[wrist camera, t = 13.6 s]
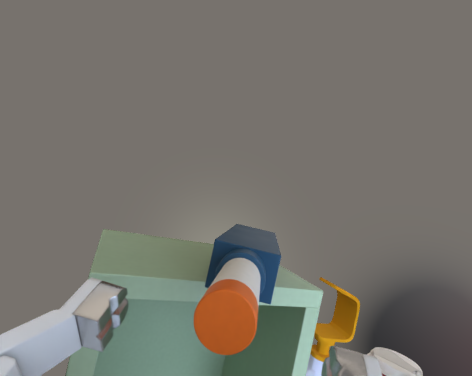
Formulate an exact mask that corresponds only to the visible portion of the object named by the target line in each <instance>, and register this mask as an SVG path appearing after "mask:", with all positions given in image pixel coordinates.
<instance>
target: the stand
mask: <svg viewBox="0 0 472 376" xmlns="http://www.w3.org/2000/svg"><path fill="white" fill-rule="evenodd" d="M213 247H214V244H208V243H201V242H193V241H186V240H179V239H172V238H164V237H157V236H150V235H142V234H136V233H128V232H121V231H114V230H107V229H103V231H102V234H101V238H100V241H99V244H98V247H97V251H96V254H95V257H94V260H93V264H92V267H91V270H90V274H89V278H88V279H90V278H91V277H92V278H95V279H99V280H102V281H105V282H109V283H112V284H115V285H119V286H122V287H125V288H127V292H128V294H127V296H126V297H125V298H126V299H127V300H128V305H129V306H128V311H127V314H126V316H125V319H124V320H123V322H122V323H121V325H120V326H118V327H117V328H115V329H113V337H112V339H111V340H110V342H109V343H108V345H107V346H106V348H105V349H104V351H103V352H101V351H97V350H93V349H90V348H86V347H83V346H82V348H81V349H79V350H78V351H76V352H75V353H73V354H72V355H70V358H69V362H68V367H67V371H66V375H65V376H306V372H307V367H308V362H309V357H310V353H311V348H312V343H313V338H314V334H315V329H316V324H317V319H318V314H319V308H320V305H321V300H322V295H323V291H322V290H321V289H319V288H318V287H316V286H314V285H312V284H311V283H309V282H307V281H306V280H304V279H302V278H301V277H299V276H297V275H295V274H294V273H292V272H291V271H289V270H287V269H286V268H284V267H282V266H280V265H279V269H278V273H277V278H276V283H275V287H274V292H273V297H272V301H271V305H270V304H266V303H262V302H259V307H258V321H257V330H256V334H255V337H254V339H253V340H252V342H251V343H250V345H249V346H248V347H247V348H246V349H244V350H243V351H241V352H239V353H236V354H233V355H220V354H216V353H214V352H212V351H210V350H209V349H207V348H206V347H205V346H204V345H203V344H202V343H201V342H200V340H199V339H198V337H197V335H196V332H195V329H194V322H193V321H194V312H195V309H196V307H197V305H198V303H199V301H200V300H201V299H202V297H203V296H204V294H205V293H206V291H207V290H208V288H206V287H205V283H206V278H207V274H208V269H209V265H210V260H211V256H212V251H213Z"/></svg>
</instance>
